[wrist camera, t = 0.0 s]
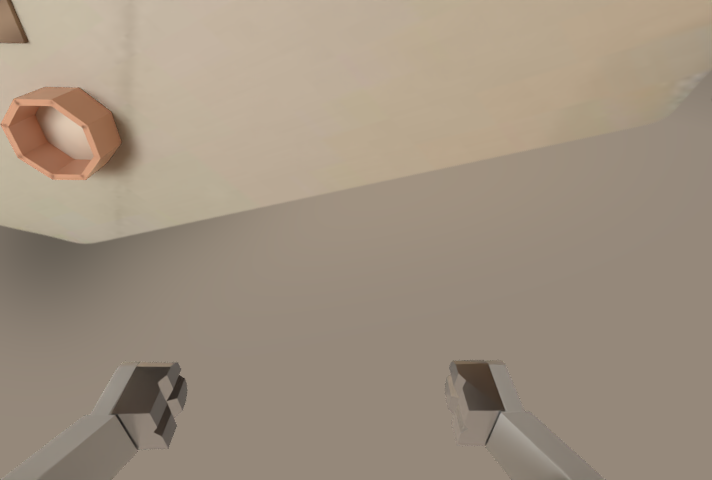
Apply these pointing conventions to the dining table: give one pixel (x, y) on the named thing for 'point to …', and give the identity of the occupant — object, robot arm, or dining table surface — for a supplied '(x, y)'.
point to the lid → (10, 24)
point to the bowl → (61, 132)
